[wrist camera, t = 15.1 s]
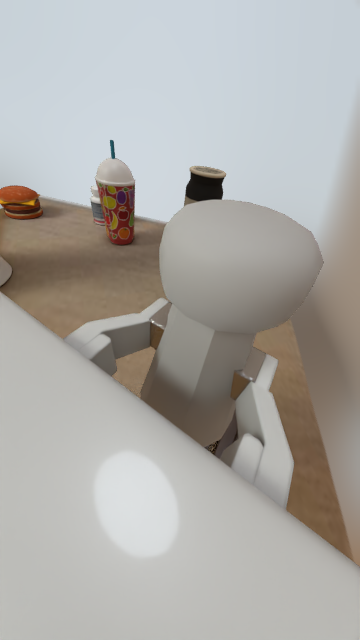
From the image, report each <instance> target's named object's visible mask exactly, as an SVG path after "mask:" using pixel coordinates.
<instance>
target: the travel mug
mask: <svg viewBox="0 0 360 640" xmlns="http://www.w3.org/2000/svg"><path fill="white" fill-rule="evenodd" d="M190 171H191V179H190V181H189V183H188V184H187V187H186V195H185V203H184V206H185V205H187V204H192V203H196V202H200V201H206V200H222V196H223V189H222V182H223V179H224V177H225V176H226V173H225V172H224V171H221V170H218V169H214V168H210V167H204V166H192V167H190Z"/></svg>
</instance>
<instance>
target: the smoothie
mask: <svg viewBox="0 0 360 640" xmlns="http://www.w3.org/2000/svg"><path fill="white" fill-rule="evenodd" d="M110 146H111V156H112V158H108V159H106V160H104V161H103V162H102V163H101V164H100V165H99V168H98V170H97V175H96V176H95V180H96V183H97V188H98V193H99V198H100V203H101V207H102V212H103V217H104V221H105V226H106V231H107V235H108V237H109V238H110V240H111V242H113V243H115V244H120V245H124V244H128V243H130V242H132V238H133V237H134V203H135V201H134V200H135V180H134V179H133V176H132V174H131V171H130V170H129V168H128V167H127V165H126V164H125V163H123V162H122V161H121V160H119V159H117V158H115V152H114V142H113V140H110Z"/></svg>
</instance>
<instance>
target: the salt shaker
mask: <svg viewBox="0 0 360 640" xmlns="http://www.w3.org/2000/svg"><path fill="white" fill-rule="evenodd" d="M159 261H160V274H161V279H162V284H163V289H164V292H165V295H166V297H167V298H168V299H169V300H170V301H171V302H172V306H171V309H170V312H169V314H168V321H167V325H166V328H165V330H164V333H163V336H162V338H161V341H160V343H159V346H158V348H157V350H156V352H155V355H154V357H153V360H152V363H151V366H150V369H149V371H148V374H147V376H146V379H145V381H144V384H143V386H142V389H141V400H143V401H144V402H145V403H147V404H148V405H149V406H150V407H152V408H153V409H154V410H156V411H157V412H158V413H160V414H161V415H162V416H164V417H165V418H166V419H167V420H169V421H170V422H171V423H173V424H174V425H175V426H177V427H178V428H179V429H181V430H182V431H183V432H184V433H186V434H187V435H188V436H190V437H191V438H192V439H194V440H195V441H196V442H197V443H199V444H200V445H201V446H203V447H206V446H208V445H210V444H212V443H214V442H216V441H218V440H220V439H221V438H222V436H223V434H224V433H225V431H226V429H227V427H228V426H229V424H230V422H231V421H232V418H233V414H234V411H235V400H233V399H232V398H230V394H231V388H232V381H233V375H234V370H240V369H244V366H245V363H246V360H247V358H248V357H249V355H250V354H251V351H252V347H253V343H254V340H255V336H256V333H257V332H260V331H264V330H267V329H270V328H274V327H277V326H279V325H281V324H283V323H284V322H286V321H287V320H288V319H289V318H290V317H291V316H292V315H293V313H294V312H295V311H296V310H297V309H298V308H299V307H300V306H301V304H302V303H303V302H304V300H305V298H306V297H307V295H308V293H309V292H310V290H311V288H312V287H313V284H314V282H315V280H316V278H317V276H318V274H319V272H320V270H321V268H322V266H323V263H324V262H323V259H322V255H321V252H320V250H319V246H318V243H317V242H316V240H315V238H314V236H313V234H312V233H311V231H309V230H308V229H306V228H305V227H303V226H302V225H300V224H298V223H297V222H296V221H294V220H292V219H291V218H289V217H288V216H286V215H285V214H282V213H279V212H277V211H274V210H272V209H270V208H267V207H263V206H260V205H256V204H253V203H249V202H242V201H235V200H206V201H200V202H196V203H192V204H187V205H185V206H184V207H183V208H182V209H181V210H180V211H179V212H177V213H176V214H175V215H174V216H173V217H172V218H171V220H170V221H169V222H168V223H167V224H166V226H165V228H164V232H163V236H162V241H161V245H160V249H159Z"/></svg>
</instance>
